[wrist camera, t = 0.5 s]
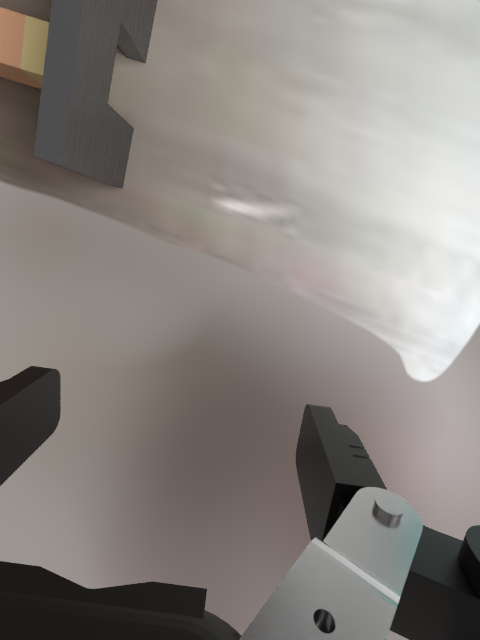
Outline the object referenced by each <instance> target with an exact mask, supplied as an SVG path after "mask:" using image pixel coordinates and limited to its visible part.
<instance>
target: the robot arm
mask: <svg viewBox="0 0 480 640" xmlns="http://www.w3.org/2000/svg"><path fill="white" fill-rule="evenodd" d="M59 419H60V373H59V371H58V370H56V369H50V368H43V367H36V366H31V367H29V368H27V369H25V370H24V371H22V372H20V373H19V374H17V375H15V376H13V377H12V378H10V379H8V380H5V381H2V382H0V486H1V485H2V484H3V483H4V482H5V481H6V480H7V479H8V478H9V477H10V476H11V475H12V474H13V473H14V472H15V470H17V468H19V467H20V466H21V465H22V464H23V462H25V461H26V460H27V459H28V457H30V456H31V455H32V454H33V453H34V451H36V450H37V449H38V448H39V446H41V445H42V443H44V442H45V441H46V440H47V439H48V437H50V436H51V435H52V433H53V432H54V431H55V429H56V427H57V425H58V422H59ZM296 467H297V472H298V478H299V483H300V488H301V493H302V498H303V503H304V508H305V513H306V518H307V523H308V528H309V533H310V538H311V542H310V543H309V544H308V546H307V547H306V549H305V550H304V551H303V553H302V554H301V555H300V557H299V558H298V559H297V561H296V562H295V564H294V565H293V566H292V568H291V569H290V571H289V572H288V573H287V575H286V576H285V577H284V579H283V580H282V581H281V583H280V584H279V585H278V587H277V588H276V590H275V591H274V593H273V594H272V595H271V596H270V598H269V599H268V601H267V602H266V603H265V605H264V606H263V607H262V609H261V610H260V612H259V613H258V614H257V616H256V617H255V618H254V620H253V621H252V622H251V624H250V625H249V627H248V628H247V629H246V631H245V632H244V633H243V635H242V636H241V635H240V634H239V633H238V632H237V631H236V630H235V629H234V628H232V627H231V626H230V625H229V624H228V623H227V622H225V621H223V620H222V619H220V618H219V617H217V616H216V615H214V614H212V613H209V612H208V611H205V610H204V608H205V601H206V592H207V589H203V588H196V587H189V586H181V585H174V584H165V583H158V582H146V583H138V584H131V585H123V586H115V587H108V588H100V589H88V588H85V587H82V586H80V585H78V584H76V583H74V582H72V581H70V580H68V579H65V578H63V577H61V576H59V575H57V574H55V573H53V572H50V571H48V570H46V569H44V568H42V567H40V566H32V565H24V564H17V563H10V562H1V561H0V640H386V639H387V636H388V633H389V630H391V631H393V632H395V633H397V634H399V635H401V636H403V637H405V638H407V639H409V640H480V525H479V526H472V527H470V528H469V529H468V530H467V532H466V535H465V538H464V540H463V541H462V540H459V539H456V538H454V537H451V536H448V535H446V534H443V533H440V532H438V531H435V530H433V529H430V528H428V527H426V526H424V525H423V523H422V520H421V518H420V516H419V514H418V513H417V511H416V510H415V509H414V508H413V507H412V506H411V505H410V504H409V503H408V502H407V501H406V500H404V499H403V498H401V497H400V496H398V495H396V494H394V493H392V492H390V491H388V490H387V489H386V487H385V485H384V483H383V481H382V479H381V478H380V476H379V474H378V472H377V470H376V468H375V467H374V465H373V463H372V461H371V459H369V455H368V454H367V452H366V450H365V449H364V446H363V444H362V442H361V441H360V439H359V437H358V435H357V434H355V433H354V432H353V431H352V430H351V429H350V428H349V427H348V426H347V425H341V424H338V422H337V420H336V418H335V415H334V413H333V411H332V409H331V408H330V407H323V406H316V405H309V404H307V405H306V407H305V410H304V414H303V419H302V424H301V429H300V434H299V439H298V444H297V450H296Z"/></svg>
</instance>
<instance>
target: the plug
mask: <svg viewBox="0 0 480 640" xmlns="http://www.w3.org/2000/svg"><path fill="white" fill-rule="evenodd" d="M48 29H49V22H46V21H43V20H40V19H37V18H33V17H30V16H27V15H24V14H21V13H17V12H14V11H11V10H8V9H5V8H1V7H0V77H2V78H6V79H9V80H12V81H15V82H19V83H22V84H25V85H29V86H32V87H35V88H38V89H41V88H42V80H43V71H44V63H45V54H46V46H47V38H48Z"/></svg>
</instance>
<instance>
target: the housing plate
mask: <svg viewBox="0 0 480 640" xmlns="http://www.w3.org/2000/svg"><path fill="white" fill-rule="evenodd" d="M156 4H157V0H52V4H51V13H50V21H49V29H48V38H47V46H46V54H45V63H44V71H43V80H42V88H41V96H40V105H39V113H38V121H37V130H36V138H35V146H34V155H33V157H36V158H38V159H41V160H44V161H46V162H49V163H52V164H54V165H57V166H60V167H62V168H65V169H68V170H70V171H73V172H76V173H78V174H81V175H84V176H86V177H89V178H92V179H94V180H97V181H100V182H102V183H105V184H109V185H112V186H115V187H119V188H123V183H124V178H125V172H126V167H127V161H128V156H129V150H130V145H131V140H132V134H133V129H134V128H133V127H132V126H131V125H129V124H128V123H127V122H126V121H125V120H124V119H123V118H122V117H121V116H120V115H119V114H118V113H117V112H116V111H115V110H114V109H113V108H112V107H110V106H109V105H108V104H107V103H108V97H109V91H110V85H111V79H112V72H113V66H114V60H115V54H116V48H117V45H118V46H119V48H120V49H121V51H122V52H123V53H124V55H125V56H126V57H128V58H132V59H135V60H138V61H141V62H144V63H146V58H147V53H148V47H149V42H150V36H151V31H152V25H153V20H154V15H155V9H156Z"/></svg>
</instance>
